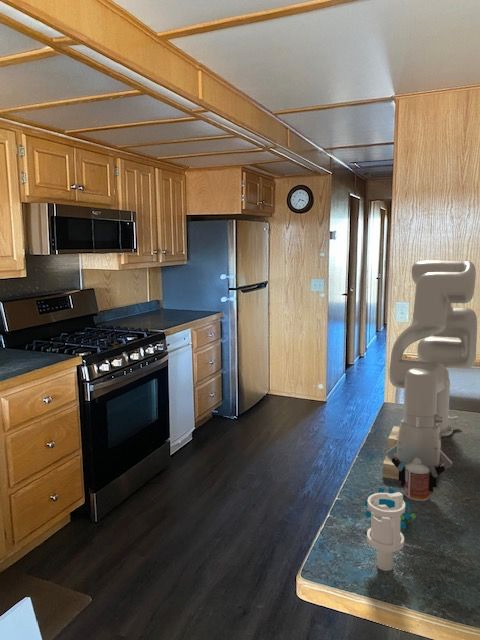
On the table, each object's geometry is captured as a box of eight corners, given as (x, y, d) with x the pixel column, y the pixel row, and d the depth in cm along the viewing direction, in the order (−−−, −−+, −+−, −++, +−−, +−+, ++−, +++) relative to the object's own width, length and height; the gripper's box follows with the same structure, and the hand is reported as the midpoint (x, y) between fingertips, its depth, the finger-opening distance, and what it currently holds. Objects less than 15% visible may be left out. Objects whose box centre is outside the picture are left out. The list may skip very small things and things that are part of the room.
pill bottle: (435, 497, 123) (437, 455, 121) (419, 504, 119) (421, 462, 117) (414, 487, 128) (415, 447, 126) (398, 494, 124) (400, 453, 123)
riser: (393, 450, 149) (393, 425, 148) (435, 457, 144) (436, 431, 143) (382, 476, 133) (383, 448, 132) (429, 485, 128) (430, 456, 127)
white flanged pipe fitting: (410, 572, 96) (413, 501, 93) (380, 581, 93) (382, 509, 91) (388, 551, 102) (389, 484, 100) (359, 559, 100) (360, 491, 97)
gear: (359, 523, 110) (370, 480, 114) (360, 529, 114) (370, 488, 119) (410, 541, 105) (419, 496, 110) (409, 546, 110) (418, 503, 115)
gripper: (458, 418, 120) (455, 486, 123) (386, 409, 127) (384, 473, 130) (457, 429, 113) (453, 501, 116) (380, 419, 121) (379, 486, 124)
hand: (417, 485), depth 123 cm, fingers closed on pill bottle, 6 cm apart
